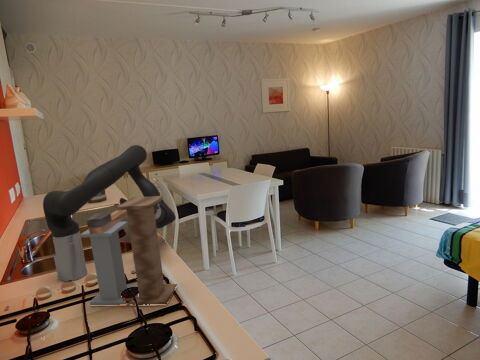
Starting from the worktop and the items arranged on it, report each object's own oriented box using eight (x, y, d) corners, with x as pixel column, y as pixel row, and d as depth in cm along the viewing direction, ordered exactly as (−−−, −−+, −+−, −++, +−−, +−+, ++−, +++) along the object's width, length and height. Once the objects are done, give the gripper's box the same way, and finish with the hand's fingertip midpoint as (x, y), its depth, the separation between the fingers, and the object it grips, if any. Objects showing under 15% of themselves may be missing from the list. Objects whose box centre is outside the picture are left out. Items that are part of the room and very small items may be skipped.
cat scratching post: (129, 306, 108) (113, 207, 101) (143, 288, 118) (129, 197, 112) (166, 306, 106) (152, 205, 100) (177, 288, 117) (165, 195, 110)
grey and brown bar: (89, 233, 104) (86, 219, 103) (118, 214, 123) (116, 202, 122) (103, 233, 104) (100, 219, 103) (130, 214, 122) (128, 202, 121)
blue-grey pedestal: (90, 306, 109) (77, 234, 105) (107, 288, 120) (96, 222, 115) (126, 306, 108) (114, 233, 103) (140, 288, 118) (130, 221, 114)
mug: (103, 197, 266) (100, 178, 263) (109, 200, 255) (106, 180, 252) (76, 203, 254) (73, 183, 251) (81, 206, 243) (77, 185, 240)
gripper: (133, 202, 146) (114, 191, 131) (166, 200, 144) (150, 189, 129) (132, 219, 144) (112, 210, 128) (165, 218, 142) (149, 209, 126)
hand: (131, 199), depth 129 cm, fingers open, 8 cm apart
